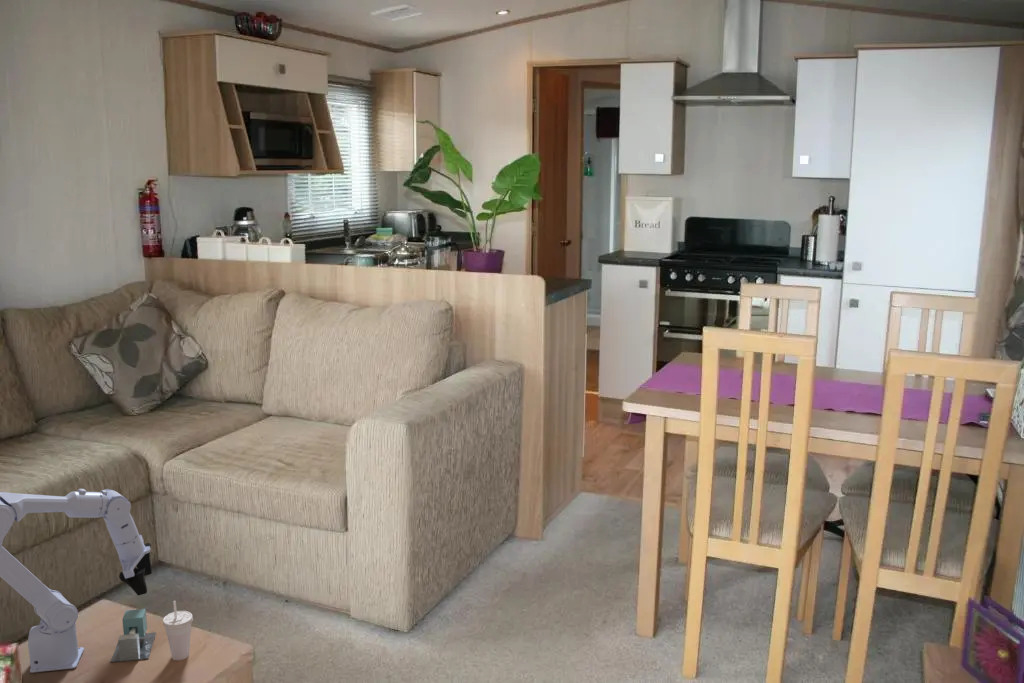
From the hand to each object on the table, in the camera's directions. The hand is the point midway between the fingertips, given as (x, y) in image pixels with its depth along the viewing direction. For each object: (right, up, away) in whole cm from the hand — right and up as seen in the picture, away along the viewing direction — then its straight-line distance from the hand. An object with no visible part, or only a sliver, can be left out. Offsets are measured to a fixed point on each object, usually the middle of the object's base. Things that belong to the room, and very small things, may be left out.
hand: (145, 583), depth 213 cm
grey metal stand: (0, -13, -6) cm, 15 cm away
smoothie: (+12, -14, -9) cm, 21 cm away
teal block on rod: (-1, -11, -4) cm, 11 cm away
